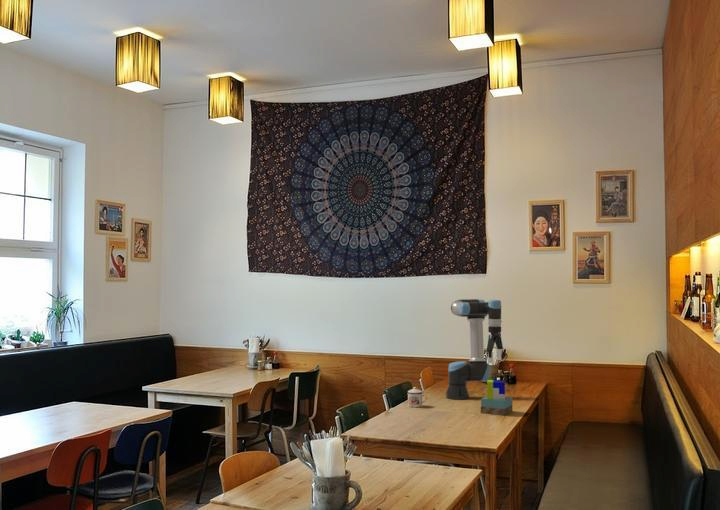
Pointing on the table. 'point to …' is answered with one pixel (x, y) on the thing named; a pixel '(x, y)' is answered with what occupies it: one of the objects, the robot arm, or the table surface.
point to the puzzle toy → (496, 389)
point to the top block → (496, 403)
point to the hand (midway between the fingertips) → (494, 361)
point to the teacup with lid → (415, 397)
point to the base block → (496, 411)
